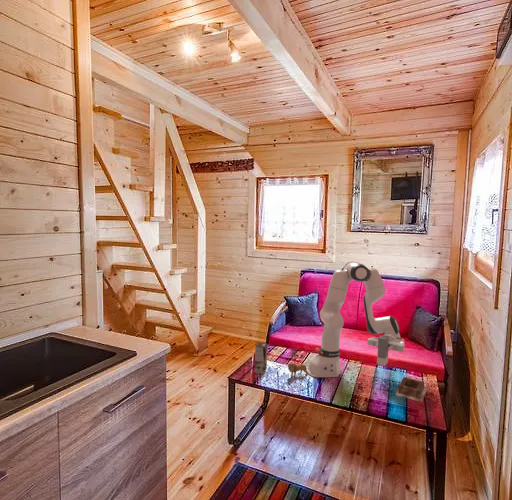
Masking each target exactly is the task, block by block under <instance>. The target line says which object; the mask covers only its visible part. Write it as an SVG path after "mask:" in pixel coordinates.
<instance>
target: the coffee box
mask: <svg viewBox="0 0 512 500" xmlns="http://www.w3.org/2000/svg"><path fill="white" fill-rule="evenodd" d="M267 366H268V343H267V342H257V343H256V344H255V348H254V373H255V374H265V373H266V370H267V368H268V367H267Z"/></svg>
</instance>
